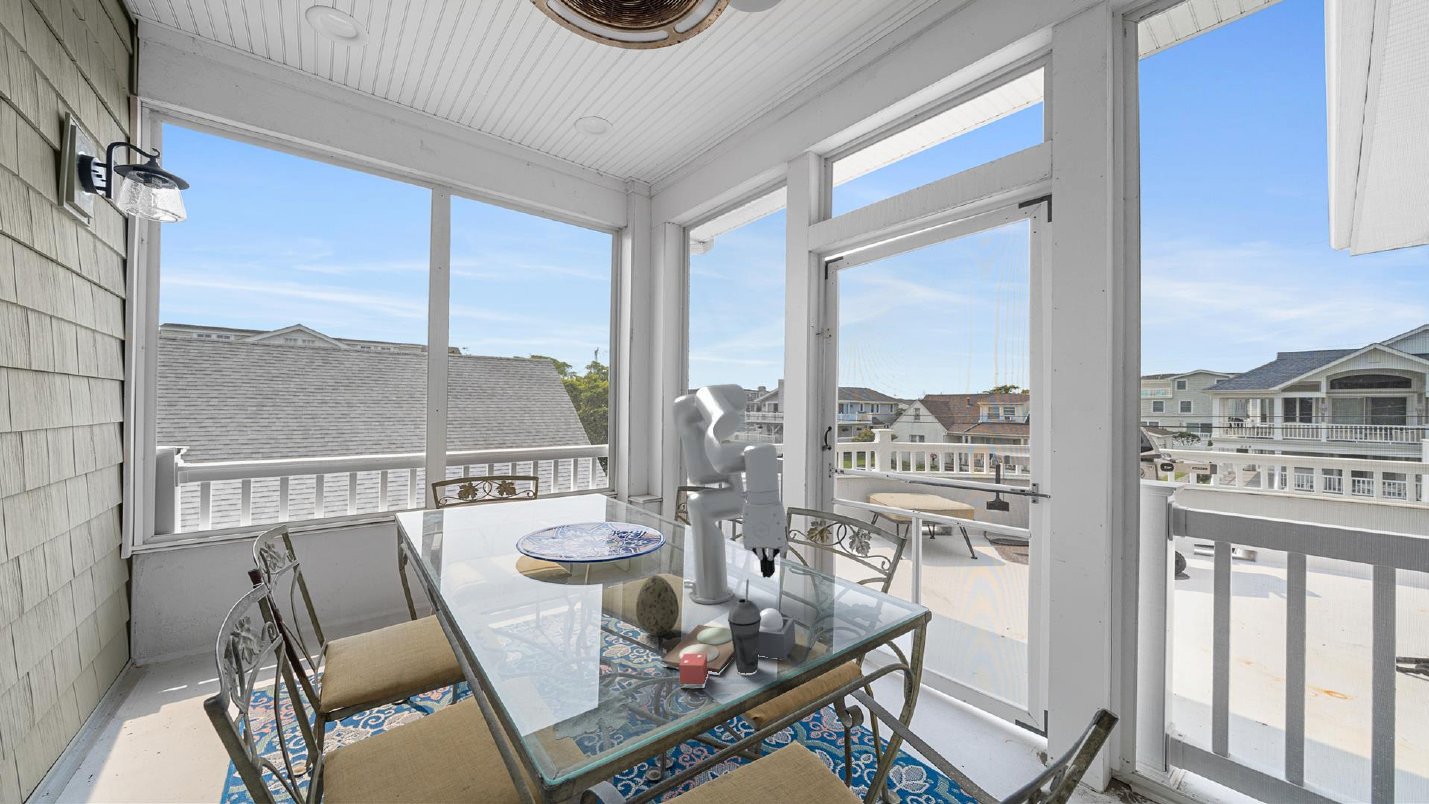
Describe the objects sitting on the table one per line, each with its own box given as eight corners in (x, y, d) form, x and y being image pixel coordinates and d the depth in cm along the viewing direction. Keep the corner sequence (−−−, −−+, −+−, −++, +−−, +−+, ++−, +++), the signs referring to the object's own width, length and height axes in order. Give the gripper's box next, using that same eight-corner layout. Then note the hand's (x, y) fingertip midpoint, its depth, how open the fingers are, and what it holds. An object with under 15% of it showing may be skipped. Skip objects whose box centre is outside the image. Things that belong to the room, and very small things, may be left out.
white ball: (754, 638, 134) (752, 612, 134) (762, 627, 140) (761, 603, 139) (779, 641, 132) (777, 615, 132) (786, 630, 137) (785, 605, 137)
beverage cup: (729, 664, 130) (723, 576, 129) (761, 661, 130) (756, 573, 130) (732, 680, 123) (727, 587, 122) (766, 677, 123) (761, 584, 122)
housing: (746, 655, 133) (745, 629, 133) (759, 638, 142) (758, 614, 141) (784, 660, 130) (783, 634, 130) (795, 643, 138) (794, 618, 138)
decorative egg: (633, 630, 151) (629, 573, 150) (673, 622, 155) (669, 566, 154) (643, 647, 141) (639, 586, 140) (685, 637, 145) (682, 578, 144)
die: (680, 688, 121) (679, 664, 120) (685, 676, 126) (683, 653, 125) (704, 689, 120) (702, 664, 120) (708, 676, 125) (706, 653, 125)
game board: (662, 667, 130) (661, 659, 130) (698, 630, 148) (698, 623, 148) (719, 676, 125) (718, 667, 125) (750, 637, 143) (749, 630, 143)
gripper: (727, 500, 134) (732, 578, 134) (789, 501, 128) (795, 583, 128) (738, 493, 141) (743, 568, 141) (798, 494, 135) (803, 572, 135)
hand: (768, 575), depth 135 cm, fingers closed
